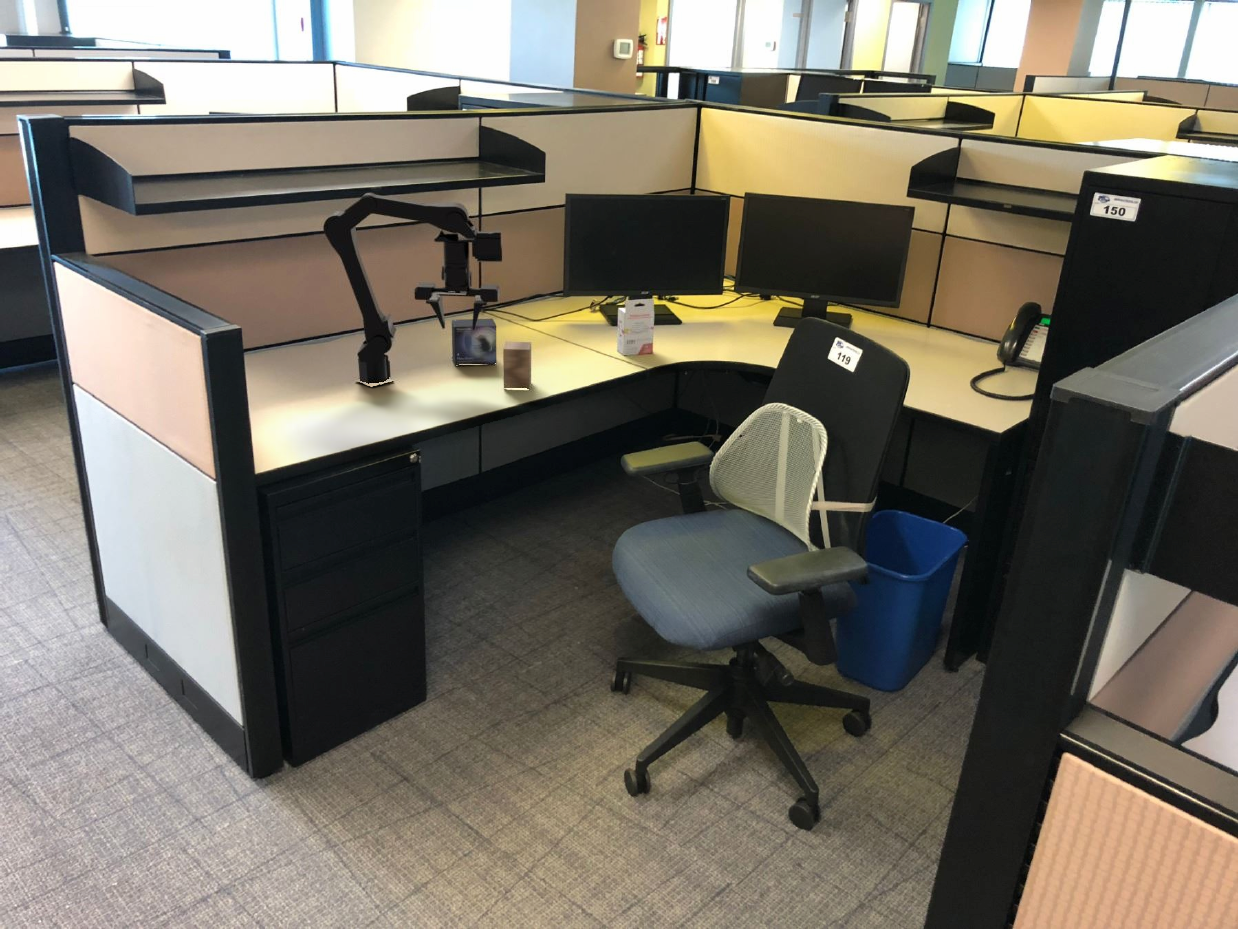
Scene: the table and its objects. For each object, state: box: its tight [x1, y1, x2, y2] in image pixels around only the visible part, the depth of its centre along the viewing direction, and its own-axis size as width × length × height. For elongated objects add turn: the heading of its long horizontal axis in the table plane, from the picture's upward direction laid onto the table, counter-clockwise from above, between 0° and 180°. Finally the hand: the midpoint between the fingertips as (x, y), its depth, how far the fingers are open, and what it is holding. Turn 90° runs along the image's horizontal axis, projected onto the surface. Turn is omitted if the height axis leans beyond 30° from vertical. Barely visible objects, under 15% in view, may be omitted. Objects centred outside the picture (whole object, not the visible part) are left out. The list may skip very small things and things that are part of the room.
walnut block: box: [502, 341, 532, 390], centre depth 224 cm, size 6×6×10 cm
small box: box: [451, 318, 497, 366], centre depth 240 cm, size 11×6×10 cm, turn 105°
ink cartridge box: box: [616, 298, 655, 356], centre depth 252 cm, size 9×5×15 cm, turn 112°
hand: (458, 328), depth 222 cm, fingers open, 7 cm apart
